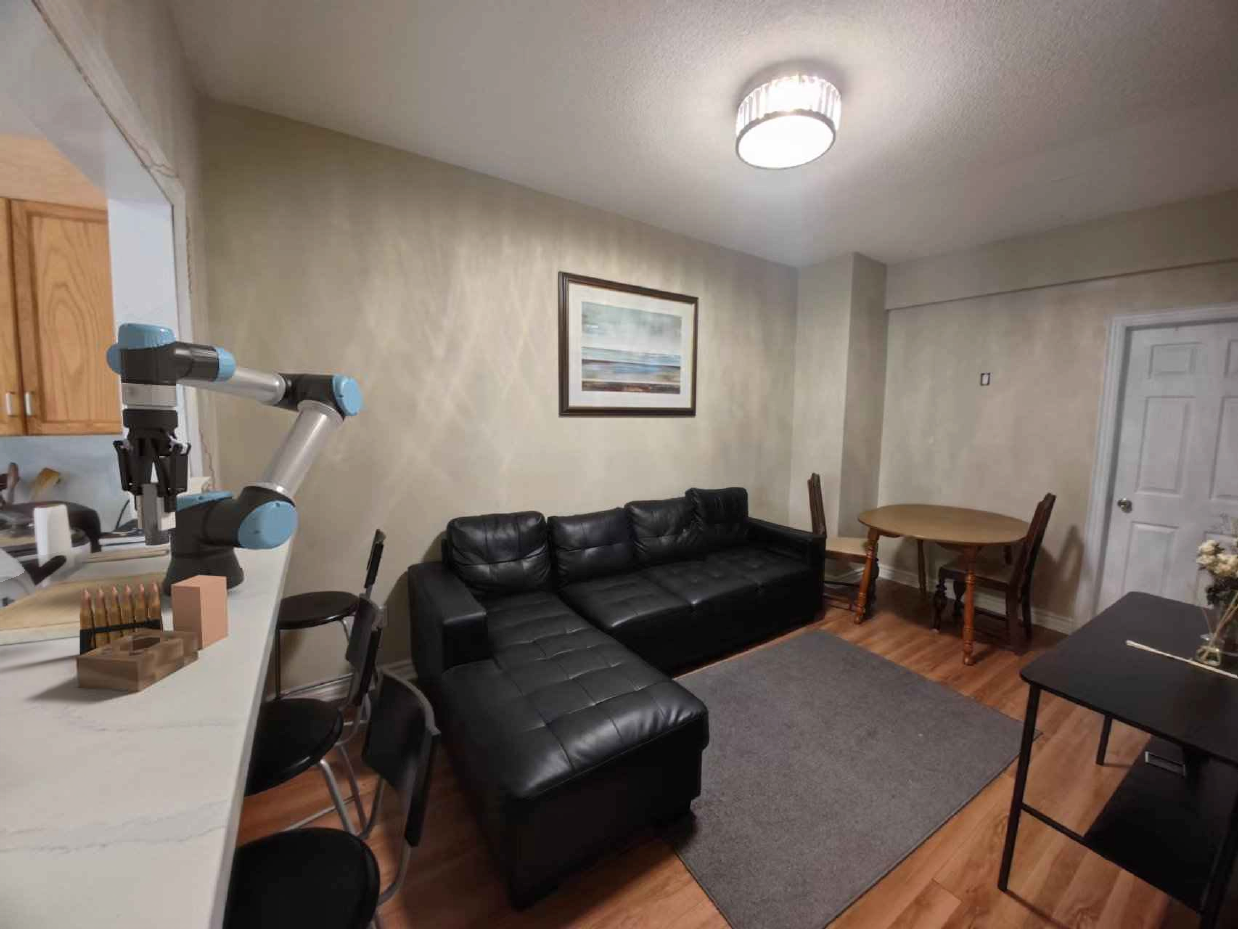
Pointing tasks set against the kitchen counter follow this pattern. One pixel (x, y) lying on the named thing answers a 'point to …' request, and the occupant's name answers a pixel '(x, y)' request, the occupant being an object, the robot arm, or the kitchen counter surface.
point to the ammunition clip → (117, 616)
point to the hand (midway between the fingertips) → (157, 527)
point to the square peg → (201, 608)
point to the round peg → (152, 516)
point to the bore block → (136, 660)
